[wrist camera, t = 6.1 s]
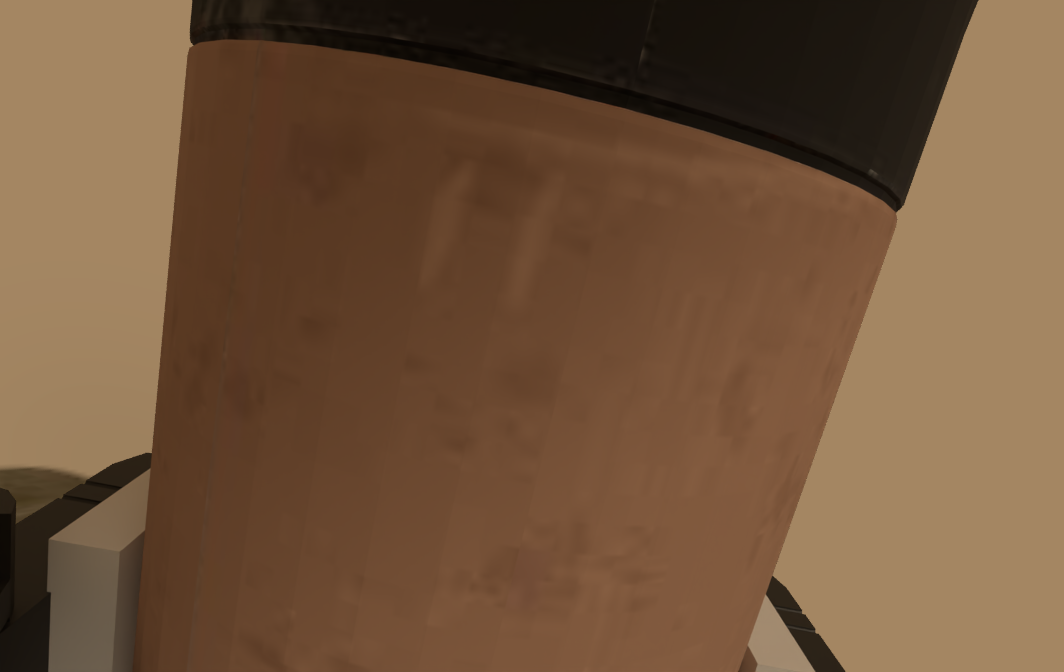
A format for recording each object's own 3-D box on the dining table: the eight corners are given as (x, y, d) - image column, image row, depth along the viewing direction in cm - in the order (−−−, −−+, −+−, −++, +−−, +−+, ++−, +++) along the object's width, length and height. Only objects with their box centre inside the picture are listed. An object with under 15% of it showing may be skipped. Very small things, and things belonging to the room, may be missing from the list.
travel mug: (96, 983, 11) (173, -134, 7) (435, 804, 16) (609, 75, 11) (54, 1965, 5) (437, -1879, 1) (616, 1213, 10) (1118, 24, 5)
